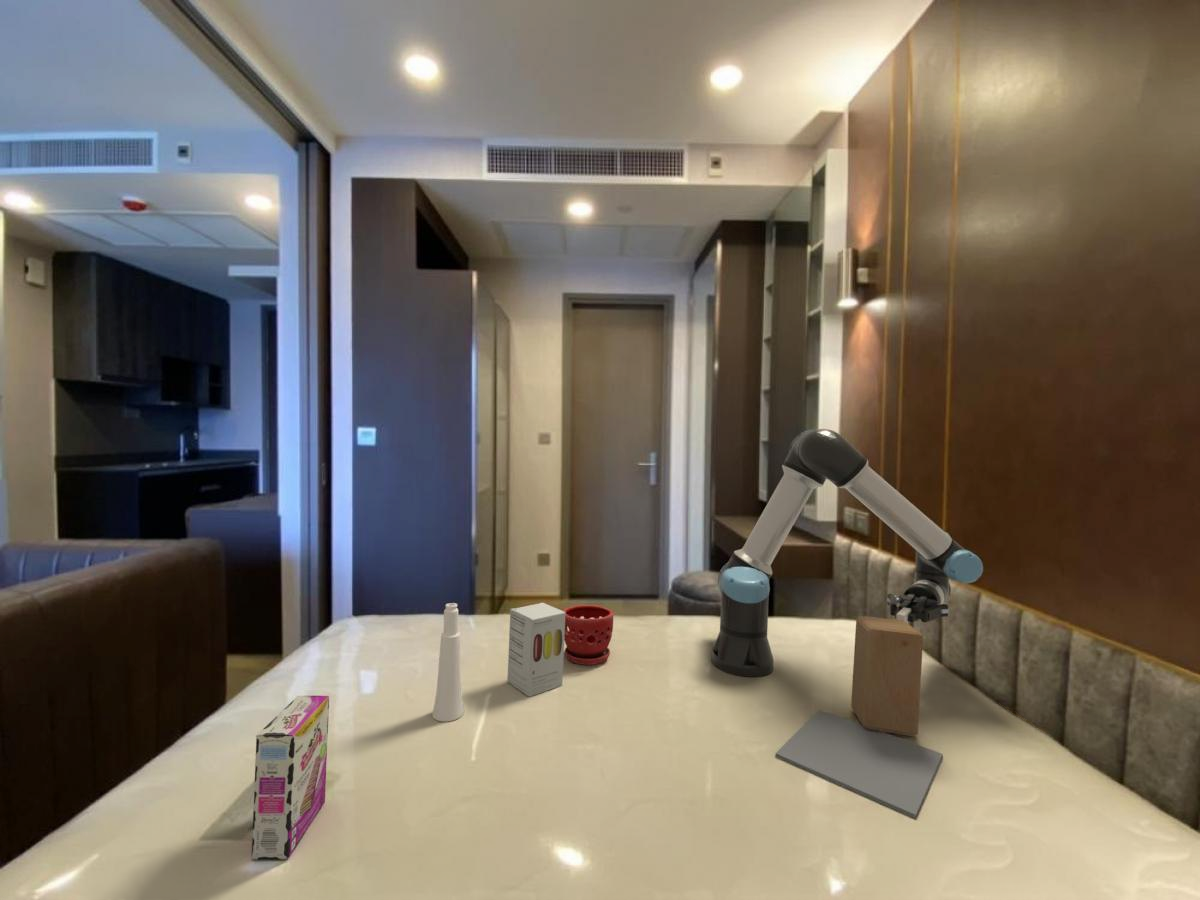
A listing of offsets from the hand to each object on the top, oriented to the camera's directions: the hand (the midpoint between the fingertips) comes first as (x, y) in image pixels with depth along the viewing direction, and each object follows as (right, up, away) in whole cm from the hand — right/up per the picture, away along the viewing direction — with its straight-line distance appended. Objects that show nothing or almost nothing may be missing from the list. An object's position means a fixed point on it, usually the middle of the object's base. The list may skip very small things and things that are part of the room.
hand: (900, 620), depth 113 cm
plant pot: (-68, -17, +21) cm, 73 cm away
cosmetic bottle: (-95, -16, -8) cm, 97 cm away
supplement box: (-79, -16, +6) cm, 81 cm away
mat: (-18, -19, -18) cm, 31 cm away
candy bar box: (-107, -16, -40) cm, 116 cm away
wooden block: (-7, -19, -7) cm, 21 cm away
